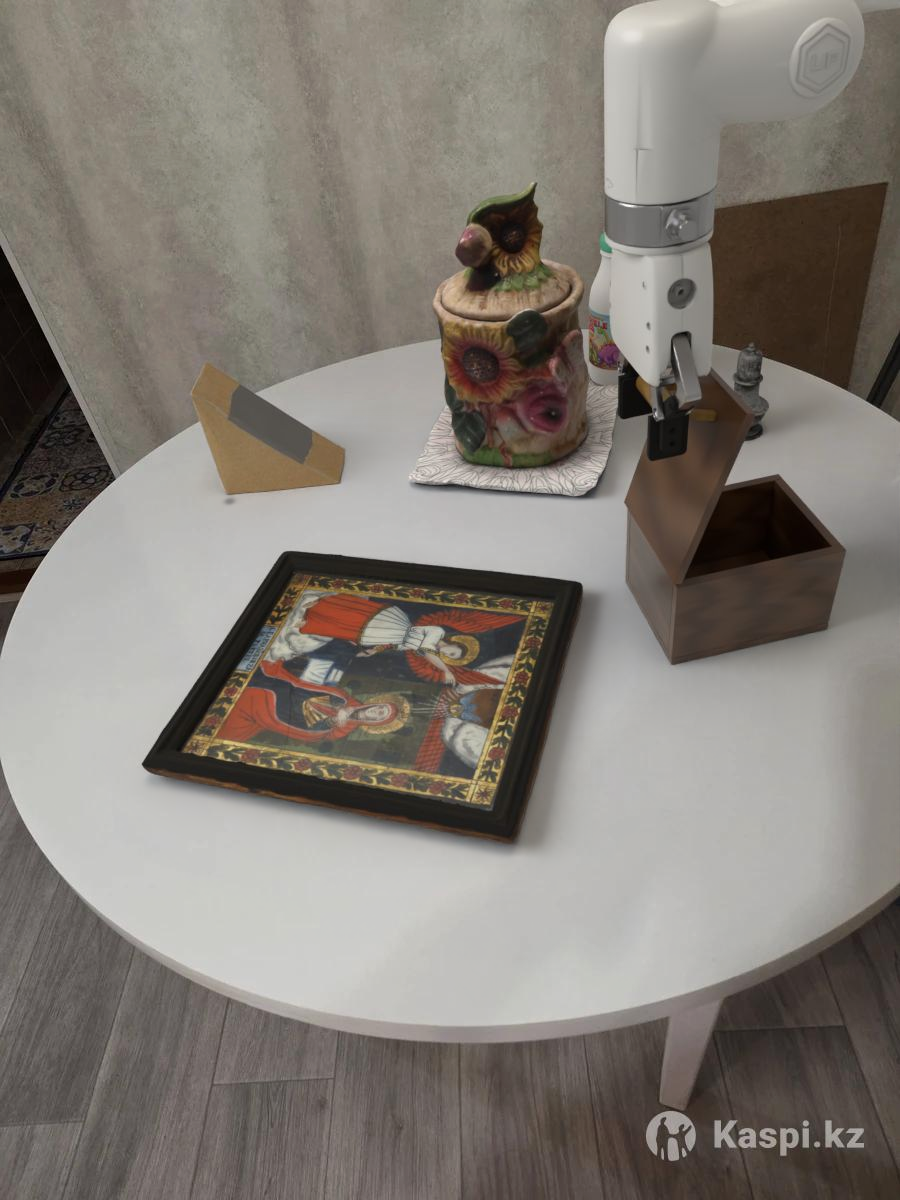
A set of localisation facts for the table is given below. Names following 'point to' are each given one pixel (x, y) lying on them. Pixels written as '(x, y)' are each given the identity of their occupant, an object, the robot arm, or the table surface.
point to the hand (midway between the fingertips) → (651, 433)
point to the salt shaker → (751, 387)
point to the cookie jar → (515, 365)
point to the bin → (740, 575)
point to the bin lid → (688, 474)
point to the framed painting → (381, 692)
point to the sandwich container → (260, 439)
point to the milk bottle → (602, 325)
